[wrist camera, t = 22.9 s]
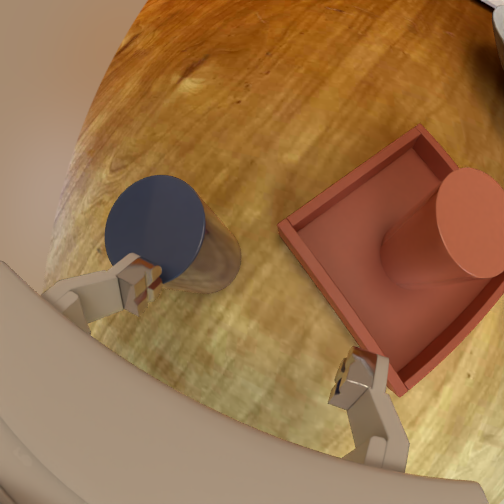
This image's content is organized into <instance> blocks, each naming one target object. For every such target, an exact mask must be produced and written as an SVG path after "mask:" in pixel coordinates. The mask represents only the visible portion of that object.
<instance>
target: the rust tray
mask: <svg viewBox="0 0 504 504" xmlns="http://www.w3.org/2000/svg"><path fill="white" fill-rule="evenodd" d="M457 169H459V167H458V166H457V165H456V164H455V162H454V161H453V160H452V159H451V157H450V156H449V155H448V154H447V153H446V151H445V150H444V149H443V148H442V147H441V146H440V144H439V143H438V142H437V141H436V140H435V139H434V138H433V136H432V135H431V134H430V133H429V132H428V131H427V130H426V129H425V128H424V127H423V126H422V125H421V124H418V125H417V126H415V127H414V128H412V129H411V130H410V131H408V132H407V133H405V134H404V135H402V136H401V137H400V138H398V139H397V140H395V141H394V142H392V143H391V144H390V145H388V146H387V147H385V148H384V149H382V150H381V151H380V152H378V153H377V154H375V155H374V156H372V157H371V158H370V159H368V160H367V161H365V162H364V163H363V164H361V165H360V166H358V167H357V168H355V169H354V170H353V171H351V172H350V173H348V174H347V175H346V176H344V177H343V178H341V179H340V180H339V181H337V182H336V183H334V184H333V185H332V186H330V187H329V188H327V189H326V190H324V191H323V192H322V193H320V194H319V195H317V196H316V197H315V198H313V199H312V200H310V201H309V202H308V203H306V204H305V205H303V206H302V207H301V208H299V209H298V210H296V211H295V212H294V213H292V214H291V215H289V216H288V217H287V219H284V220H282V221H281V222H280V223H278V224H277V227H278V232H279V236H280V237H281V238H282V240H283V241H284V242H285V244H286V245H287V246H288V248H289V249H290V250H291V252H292V253H293V254H294V256H295V257H296V258H297V260H298V261H299V262H300V264H301V265H302V266H303V268H304V269H305V271H306V272H307V273H308V275H309V276H310V277H311V279H312V280H313V282H314V283H315V284H316V286H317V287H318V288H319V290H320V291H321V293H322V294H323V295H324V297H325V298H326V299H327V301H328V302H329V304H330V305H331V306H332V308H333V309H334V311H335V312H336V313H337V315H338V316H339V318H340V319H341V320H342V322H343V323H344V325H345V326H346V328H347V329H348V330H349V332H350V333H351V335H352V336H353V338H354V339H355V340H356V342H357V343H358V345H359V346H360V348H361V349H364V350H367V351H370V352H373V353H376V354H378V355H381V356H384V357H387V358H389V368H388V376H387V384H386V386H387V387H388V388H389V389H390V390H391V391H393V392H394V393H395V394H396V395H397V396H398V397H401V396H403V395H404V394H405V393H406V392H407V391H408V390H410V389H411V388H412V387H413V386H415V385H416V384H417V383H418V382H419V381H420V380H422V379H423V378H424V377H425V376H426V375H427V374H428V373H429V372H431V371H432V370H433V369H434V368H435V367H436V366H437V365H438V364H439V363H440V362H441V361H442V360H444V359H445V358H446V357H447V356H448V355H449V354H450V353H451V352H452V351H453V350H454V349H455V348H456V347H457V346H458V345H459V344H460V343H461V342H462V341H463V340H464V338H465V337H466V336H467V335H468V334H469V333H470V332H471V331H472V330H473V329H474V328H475V327H476V326H477V324H478V323H479V322H480V321H481V320H482V319H483V318H484V316H485V315H486V314H487V313H488V312H489V311H490V309H491V308H492V307H493V306H494V305H495V303H496V302H497V301H498V300H499V298H500V297H501V296H502V295H503V293H504V271H503V272H502V273H500V274H499V275H497V276H495V277H491V278H487V279H482V280H476V281H471V282H465V283H459V284H453V285H447V286H441V287H435V288H428V289H421V290H406V289H403V288H401V287H399V286H397V285H396V284H395V283H393V282H392V281H391V280H390V278H389V277H388V276H387V274H386V273H385V271H384V268H383V266H382V263H381V257H380V248H381V243H382V239H383V237H384V235H385V233H386V232H387V230H388V229H389V228H390V227H391V226H392V225H393V224H394V223H396V222H397V221H398V220H399V219H400V218H401V217H402V216H404V215H405V214H406V213H407V212H408V211H409V210H410V209H411V208H413V207H414V206H415V205H416V204H417V203H418V202H419V201H420V200H421V199H423V198H424V197H425V196H426V195H427V194H428V193H429V192H430V191H431V190H432V189H433V188H435V187H436V186H437V185H438V184H439V183H440V182H441V181H442V180H443V179H444V178H445V177H446V176H447V175H448V174H450V173H451V172H453V171H455V170H457Z"/></svg>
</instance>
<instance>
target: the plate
mask: <svg viewBox="0 0 504 504" xmlns="http://www.w3.org/2000/svg"><path fill="white" fill-rule="evenodd" d="M481 1H483V2H485V3H486V4H488V5H490V6H492V7H493V8H495V9H496V7H497V6H499V5H504V0H481Z"/></svg>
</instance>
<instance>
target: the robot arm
mask: <svg viewBox="0 0 504 504" xmlns="http://www.w3.org/2000/svg"><path fill="white" fill-rule="evenodd" d="M161 274H162V268H161V267H160V266H159V265H157V264H155V263H153V262H151V261H149V260H147V259H145V258H143V257H141V256H139V255H137V254H135V253H129V254H128V255H127V256H125V257H124V258H123V259H122V260H120V261H119V262H118V263H116V264H115V265H114V266H113V267H111V268H110V269H109V270H108V271H105V270H102V271H98V272H93V273H89V274H85V275H80V276H76V277H72V278H67V279H63V280H59V281H58V282H57V283H55V284H54V285H53V286H52V287H50V288H49V289H48V290H47V291H45V292H44V293H43V294H42V295H39V294H38V293H37V292H36V291H34V289H32V288H31V287H30V286H29V285H28V284H27V283H26V282H25V281H23V279H22V278H20V277H19V276H18V275H17V274H16V273H15V272H14V271H13V270H12V269H11V268H10V267H9V266H8V265H7V264H6V263H5V262H3V261H0V504H489V503H488V500H487V498H486V496H485V493H484V491H483V489H482V487H481V485H480V484H479V483H478V482H475V481H467V480H454V479H444V478H435V477H428V476H421V475H414V474H408V473H405V468H406V463H407V457H408V451H409V445H410V443H409V441H408V438H407V436H406V433H405V431H404V429H403V426H402V424H401V422H400V419H399V417H398V415H397V412H396V410H395V408H394V405H393V403H392V401H391V399H390V396H389V394H386V393H385V391H386V384H387V376H388V368H389V358H387V357H384V356H381V355H378V354H376V353H373V352H370V351H367V350H364V349H361V348H358V347H355V346H352V347H351V348H350V350H349V351H348V355H347V357H346V358H344V359H343V361H342V362H341V364H340V366H339V368H338V371H337V373H336V376H335V383H336V384H335V385H334V387H333V388H332V390H331V393H330V397H329V400H328V404H331V405H333V406H336V407H339V408H342V409H344V410H347V415H348V418H349V422H350V426H351V430H352V434H353V439H354V443H355V447H356V448H355V449H354V450H353V451H351V452H350V453H348V454H347V455H345V456H344V457H342V458H338V457H335V456H332V455H328V454H325V453H322V452H319V451H315V450H312V449H309V448H306V447H303V446H300V445H298V444H295V443H292V442H289V441H286V440H284V439H281V438H278V437H276V436H273V435H271V434H268V433H266V432H263V431H261V430H258V429H256V428H254V427H251V426H249V425H247V424H244V423H242V422H240V421H237V420H235V419H233V418H231V417H229V416H227V415H224V414H222V413H220V412H218V411H216V410H214V409H212V408H210V407H208V406H206V405H204V404H202V403H200V402H198V401H196V400H194V399H192V398H190V397H188V396H186V395H185V394H183V393H181V392H179V391H177V390H175V389H174V388H172V387H170V386H168V385H167V384H165V383H163V382H161V381H160V380H158V379H156V378H154V377H153V376H151V375H149V374H148V373H146V372H145V371H143V370H141V369H140V368H138V367H136V366H135V365H133V364H132V363H130V362H129V361H127V360H126V359H124V358H122V357H121V356H119V355H118V354H116V353H115V352H113V351H112V350H110V349H109V348H108V347H106V346H105V345H103V344H102V343H100V342H99V341H98V340H96V339H95V338H93V337H92V336H91V331H90V329H89V326H88V323H91V322H93V321H96V320H99V319H101V318H104V317H106V316H109V315H111V314H114V313H117V312H119V311H122V310H124V309H125V310H127V311H129V312H131V313H132V314H134V315H136V316H138V317H139V316H140V315H141V314H142V313H143V312H144V311H145V310H146V309H147V308H148V303H149V302H153V301H155V300H156V299H157V298H158V297H159V295H160V293H161V291H162V286H163V283H162V280H161V278H160V275H161Z"/></svg>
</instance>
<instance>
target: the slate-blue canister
mask: <svg viewBox="0 0 504 504" xmlns="http://www.w3.org/2000/svg"><path fill="white" fill-rule="evenodd" d="M105 247H106V252H107V255H108V258H109V260H110V262H111V264H112V266H114V265H115V264H116V263H118V262H119V261H120V260H122V259H123V258H124V257H125V256H127V255H128V254H129V253H135V254H137V255H139V256H141V257H143V258H145V259H147V260H149V261H151V262H153V263H155V264H157V265H159V266H160V267H161V268H162V274H161V275H160V278H161V280H162V283H163V286H162V289H169V290H177V291H185V292H194V293H202V294H209V293H215V292H218V291H220V290H222V289H224V288H226V287H227V286H228V285H229V284H230V283H231V282H232V281H233V280H234V279H235V277H236V275H237V274H238V271H239V269H240V265H241V249H240V246H239V243H238V241H237V239H236V238H235V236H234V235H233V234H232V233H231V231H230V230H229V229H228V228H227V227H226V226H225V225H224V223H223V222H222V221H221V220H220V219H219V218H218V217H217V215H216V214H215V213H214V212H213V211H212V210H211V209H210V207H209V206H208V205H207V204H206V203H205V202H204V201H203V199H202V198H201V197H200V196H199V195H198V194H197V192H196V191H195V190H194V189H193V188H192V187H191V186H190V185H189V184H187V183H186V182H185V181H183V180H181V179H179V178H176V177H173V176H168V175H155V176H150V177H146V178H143V179H141V180H139V181H137V182H135V183H134V184H132V185H131V186H129V187H128V188H127V189H126V190H125V191H124V192H123V193H122V194H121V195H120V196H119V197H118V199H117V200H116V201H115V203H114V205H113V207H112V208H111V211H110V213H109V215H108V218H107V222H106V227H105Z"/></svg>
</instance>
